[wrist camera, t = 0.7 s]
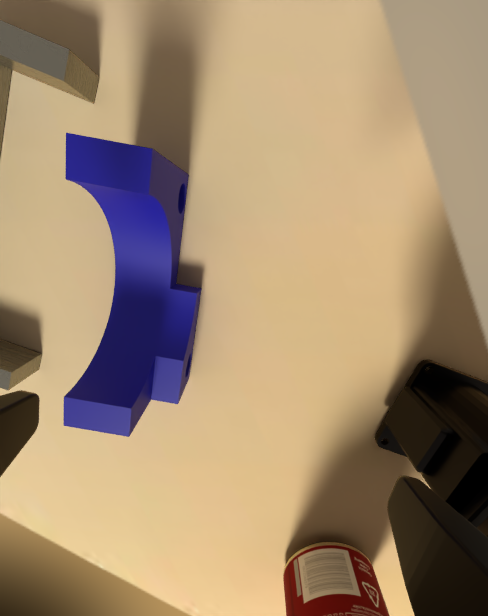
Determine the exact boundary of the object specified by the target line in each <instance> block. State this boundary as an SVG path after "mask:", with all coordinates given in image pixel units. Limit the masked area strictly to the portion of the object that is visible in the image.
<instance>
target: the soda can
mask: <svg viewBox="0 0 488 616" xmlns="http://www.w3.org/2000/svg"><path fill="white" fill-rule="evenodd" d="M283 578H284V591H285V603H286V615H287V616H389V613H388V610H387V607H386V604H385V601H384V598H383V595H382V593H381V590H380V587H379V584H378V581H377V578H376V575H375V572H374V569H373V566H372V564H371V562H370V561H369V559H368V558H367V557H366V556H365V555H364V554H363V553H362V552H361V551H359V550H358V549H356V548H354V547H352V546H350V545H347V544H343V543H338V542H320V543H315V544H312V545H309V546H306V547H304V548H302V549H300V550H299V551H297V552H296V553H295V554H294V555H293V556H292V557H291V558H290V559H289V560H288V562H287V564H286V566H285V568H284V574H283Z"/></svg>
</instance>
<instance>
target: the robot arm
mask: <svg viewBox="0 0 488 616" xmlns="http://www.w3.org/2000/svg"><path fill="white" fill-rule="evenodd" d="M429 366H430V369H429V370H427V371H425V369H426V368H427V367H429ZM38 423H39V396H38V395H37V394H35V393H31V392H27V391H16V392H12V393H9V394H5V395H2V396H0V477H1V475H2V474H3V473H4V472H5V470H6V469H7V468H8V466H9V465H10V464H11V462H12V461H13V460H14V459H15V457H16V456H17V455H18V453H19V452H20V451H21V449H22V448H23V447H24V446H25V444H26V443H27V442H28V440H29V439H30V438H31V437H32V435H33V434H34V432H35V431H36V429H37V427H38ZM384 438H386V439H385V440H383V441H381V440H382V439H384ZM375 441H376V443H377V444H378V446H379V447H381V448H383V449H386V450H389V451H392V452H395V453H398V454H400V455H403V456H406V457H408V458H409V460H410V461H411V463H412V464H413V466H414V467H415V469H416V470H417V471H418V472H419V473H421V475H422V476H423V478H424V479H425V481H426V482H427V484H428V485H429V487H430V488H431V489H430V488H429V487H428V486H426V485H425V484H424V483H423V482H422V481H420V480H419V479H416V478H412V477H407V476H400V477H399V478H398V480H397V482H396V484H395V486H394V489H393V491H392V493H391V495H390V498H389V500H388V507H387V508H388V515H389V519H390V523H391V527H392V532H393V536H394V540H395V544H396V549H397V553H398V557H399V561H400V566H401V570H402V574H403V578H404V582H405V586H406V589H407V592H408V596H409V599H410V602H411V605H412V609H413V612H414V615H415V616H488V382H486V381H483V380H481V379H478V378H475V377H473V376H470V375H467V374H465V373H462V372H460V371H457V370H454V369H452V368H449V367H447V366H444V365H441V364H439V363H436V362H433V361H431V360H423V361H421V362H420V363H419V364H418V366H417V368H416V369H415V371H414V372H413V374H412V376H411V377H410V379H409V381H408V382H407V384H406V386H405V387H404V389H403V390H402V391H401V393H400V395H399V396H398V398H397V399H396V401H395V403H394V404H393V406H392V408H391V409H390V411H389V413H388V414H387V416H386V418H385V420H384V422H383V424H382V425H381V427H380V429H379V430H378V432H377V433H376V435H375Z"/></svg>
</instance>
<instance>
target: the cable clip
mask: <svg viewBox="0 0 488 616" xmlns="http://www.w3.org/2000/svg"><path fill="white" fill-rule="evenodd" d="M188 176H189V175H188V174H187V173H186V172H184V171H183V170H181V169H180V168H179V167H177V166H176V165H174V164H173V163H172V162H170V161H169V160H167V159H166V158H165V157H163V156H162V155H160V154H159V153H158V152H156V151H155V150H154V149H151V148H146V147H140V146H135V145H129V144H124V143H119V142H113V141H108V140H102V139H97V138H92V137H86V136H81V135H75V134H70V133H66V180H70V181H73V182H75V183H77V184H79V185H81V186H82V187H83V188H85V189H86V190H87V191H88V192H89V193H90V194H91V195H92V196H93V197H94V198H95V199H96V201H97V202H98V203H99V205H100V207H101V208H102V210H103V212H104V214H105V216H106V219H107V221H108V224H109V227H110V230H111V234H112V239H113V244H114V251H115V265H116V270H115V288H114V296H113V302H112V307H111V312H110V316H109V320H108V323H107V326H106V329H105V332H104V335H103V338H102V340H101V343H100V345H99V347H98V349H97V352H96V354H95V356H94V358H93V359H92V361H91V363H90V365H89V366H88V368H87V370H86V371H85V373H84V374H83V376H82V377H81V378H80V380H79V381H78V382H77V384H76V385H75V386H74V387H73V388H72V389H71V390H70V391H69V392H68V393H67V394H66V395H65V396H64V426H69V427H75V428H81V429H87V430H93V431H99V432H104V433H110V434H116V435H122V436H128V437H129V436H130V434H131V433H132V431H133V429H134V428H135V426H136V424H137V422H138V421H139V419H140V417H141V416H142V414H143V412H144V411H145V409H146V407H147V405H148V404H149V402H150V400H151V399H152V400H157V401H163V402H169V403H175V404H178V403H179V400H180V398H181V396H182V393H183V391H184V389H185V386H186V384H187V382H188V379H189V374H190V367H191V360H192V353H193V345H194V338H195V331H196V324H197V316H198V309H199V302H200V295H201V288H197V287H191V286H186V285H180V284H176V281H177V273H178V264H179V255H180V246H181V238H182V229H183V220H184V211H185V202H186V194H187V185H188Z"/></svg>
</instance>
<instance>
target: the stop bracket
mask: <svg viewBox="0 0 488 616" xmlns="http://www.w3.org/2000/svg"><path fill="white" fill-rule="evenodd" d="M12 70H14V71H16V72H19V73H21V74H23V75H26V76H28V77H31V78H33V79H36V80H38V81H40V82H43V83H45V84H48V85H50V86H53V87H55V88H57V89H60V90H62V91H65V92H67V93H70V94H72V95H74V96H77V97H79V98H82V99H84V100H87V101H89V102H91V103H94V100H95V95H96V91H97V86H98V81H99V77H98V76H97V75H96V74H95V73H94V72H93V71H92V70H91V69H90V68H89V67H88V66H87V65H86V64H84V63H83V62H82V61H81V60H80V59H79V58H78V57H77V56H76V55H75V54H74V53H73V52H72V51H71V50H70V49H67V48H65V47H63V46H60V45H58V44H56V43H53V42H51V41H48V40H46V39H44V38H41V37H39V36H37V35H34V34H32V33H30V32H27V31H25V30H22V29H20V28H18V27H15V26H13V25H11V24H8V23H6V22H3V21H1V20H0V153H1V145H2V138H3V131H4V123H5V116H6V109H7V101H8V94H9V86H10V79H11V72H12ZM41 356H42V354H41V353H38V352H36V351H33V350H30V349H27V348H24V347H21V346H18V345H15V344H13V343H10V342H7V341H4V340H1V339H0V388H3V389H6V390H10V389H11V388H12V387H14V386H15V385H17V384H18V383H20V382H21V381H23V380H24V379H26V378H27V377H29V376H30V375H31V374H33V373H34V372H36V371H37V370H39V366H40V361H41Z"/></svg>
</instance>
